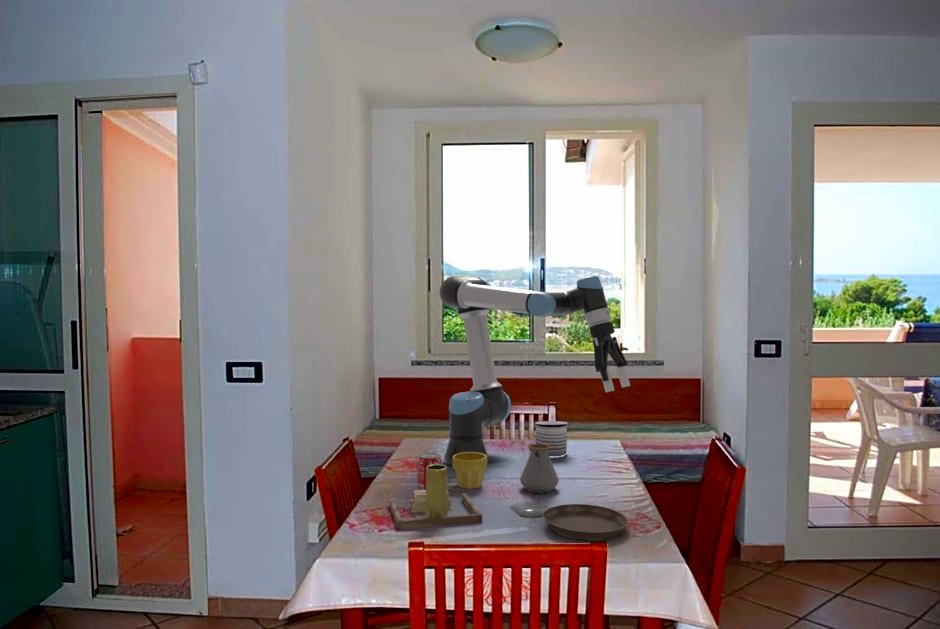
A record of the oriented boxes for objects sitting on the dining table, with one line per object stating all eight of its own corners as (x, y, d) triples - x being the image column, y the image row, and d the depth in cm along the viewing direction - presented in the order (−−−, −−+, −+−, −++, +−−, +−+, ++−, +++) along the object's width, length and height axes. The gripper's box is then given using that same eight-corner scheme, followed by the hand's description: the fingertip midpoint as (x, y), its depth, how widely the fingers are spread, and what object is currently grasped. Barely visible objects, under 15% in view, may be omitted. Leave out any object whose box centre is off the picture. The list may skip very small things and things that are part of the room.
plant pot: (445, 489, 199) (445, 456, 199) (467, 481, 207) (467, 450, 206) (471, 496, 192) (471, 462, 192) (494, 487, 200) (494, 455, 200)
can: (533, 457, 236) (533, 423, 236) (537, 450, 247) (537, 417, 247) (565, 459, 234) (566, 425, 233) (568, 451, 245) (568, 419, 244)
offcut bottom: (408, 513, 179) (408, 505, 179) (449, 509, 182) (449, 502, 182) (412, 519, 175) (411, 511, 175) (453, 515, 177) (453, 508, 177)
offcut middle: (410, 506, 179) (410, 499, 179) (445, 502, 182) (445, 495, 182) (414, 511, 175) (414, 504, 175) (450, 507, 178) (450, 500, 178)
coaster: (504, 505, 184) (504, 504, 184) (542, 502, 186) (542, 501, 186) (516, 518, 173) (516, 517, 173) (556, 515, 176) (556, 513, 176)
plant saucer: (610, 513, 178) (610, 501, 178) (640, 543, 158) (640, 529, 157) (534, 517, 175) (534, 504, 175) (555, 547, 155) (555, 533, 155)
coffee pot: (521, 482, 205) (521, 434, 205) (559, 484, 204) (559, 435, 203) (514, 504, 184) (515, 450, 184) (557, 507, 183) (557, 452, 182)
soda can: (445, 494, 194) (445, 453, 193) (436, 501, 187) (436, 459, 187) (423, 491, 196) (422, 451, 196) (413, 499, 189) (413, 456, 189)
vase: (424, 518, 173) (424, 464, 172) (448, 518, 174) (448, 463, 173) (424, 527, 167) (424, 470, 166) (449, 526, 167) (449, 470, 167)
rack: (389, 510, 180) (389, 498, 180) (465, 504, 185) (465, 493, 185) (398, 533, 162) (398, 521, 162) (482, 526, 167) (482, 514, 167)
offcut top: (413, 497, 180) (413, 490, 180) (446, 496, 181) (447, 488, 181) (414, 502, 176) (414, 495, 176) (448, 501, 177) (448, 493, 177)
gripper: (595, 321, 201) (614, 390, 198) (625, 319, 222) (642, 382, 219) (573, 328, 205) (591, 396, 202) (604, 325, 226) (621, 387, 223)
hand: (618, 389), depth 210 cm, fingers open, 13 cm apart
